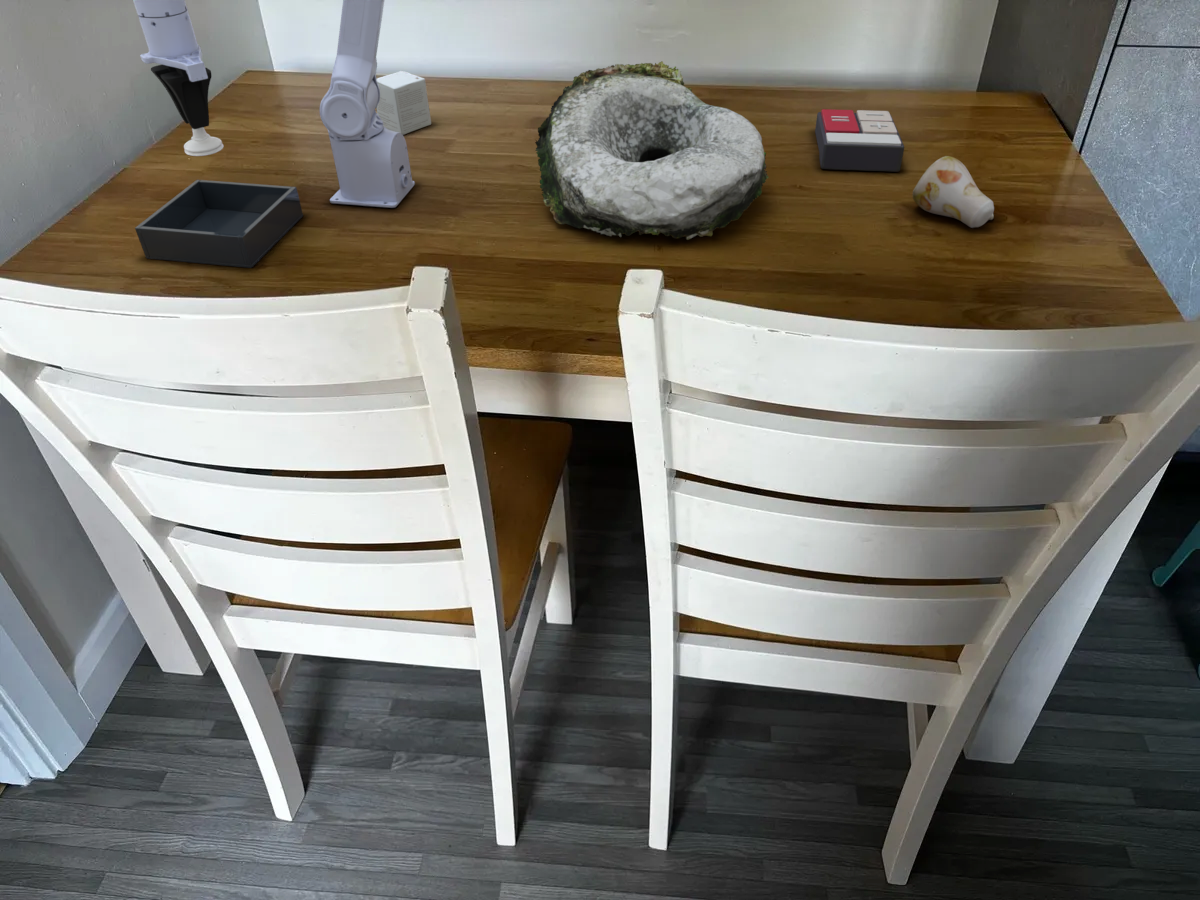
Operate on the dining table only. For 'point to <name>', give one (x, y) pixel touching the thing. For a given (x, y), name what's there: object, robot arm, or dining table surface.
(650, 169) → the stone basin
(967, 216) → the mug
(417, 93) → the product box
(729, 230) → the dining table surface
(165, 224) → the square open tray
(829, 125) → the calculator
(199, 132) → the chess piece
